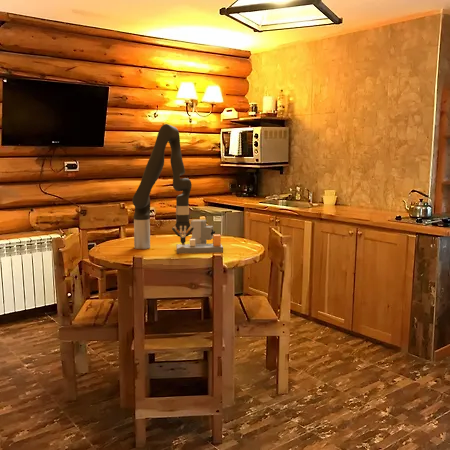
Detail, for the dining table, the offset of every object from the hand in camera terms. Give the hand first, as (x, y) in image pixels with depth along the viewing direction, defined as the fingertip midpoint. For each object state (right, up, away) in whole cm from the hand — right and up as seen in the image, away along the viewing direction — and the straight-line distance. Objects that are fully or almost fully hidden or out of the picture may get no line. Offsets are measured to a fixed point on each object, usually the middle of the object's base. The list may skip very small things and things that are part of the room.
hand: (183, 243), depth 293 cm
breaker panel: (+9, -4, +2) cm, 10 cm away
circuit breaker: (+11, -2, +22) cm, 25 cm away
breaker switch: (+5, -1, +1) cm, 6 cm away
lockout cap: (+19, -1, +3) cm, 19 cm away
